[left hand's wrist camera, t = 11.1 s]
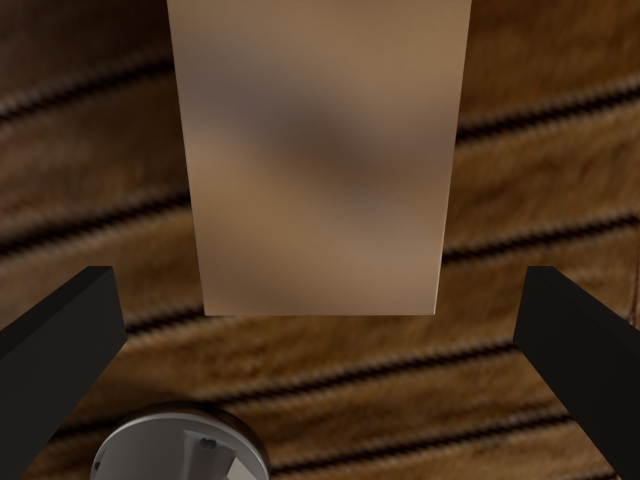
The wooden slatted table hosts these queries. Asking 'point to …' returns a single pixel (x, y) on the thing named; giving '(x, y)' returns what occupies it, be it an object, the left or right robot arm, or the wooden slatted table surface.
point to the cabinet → (319, 150)
